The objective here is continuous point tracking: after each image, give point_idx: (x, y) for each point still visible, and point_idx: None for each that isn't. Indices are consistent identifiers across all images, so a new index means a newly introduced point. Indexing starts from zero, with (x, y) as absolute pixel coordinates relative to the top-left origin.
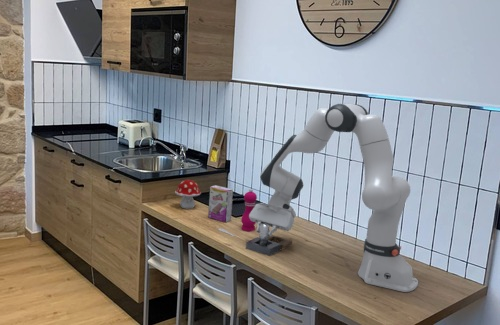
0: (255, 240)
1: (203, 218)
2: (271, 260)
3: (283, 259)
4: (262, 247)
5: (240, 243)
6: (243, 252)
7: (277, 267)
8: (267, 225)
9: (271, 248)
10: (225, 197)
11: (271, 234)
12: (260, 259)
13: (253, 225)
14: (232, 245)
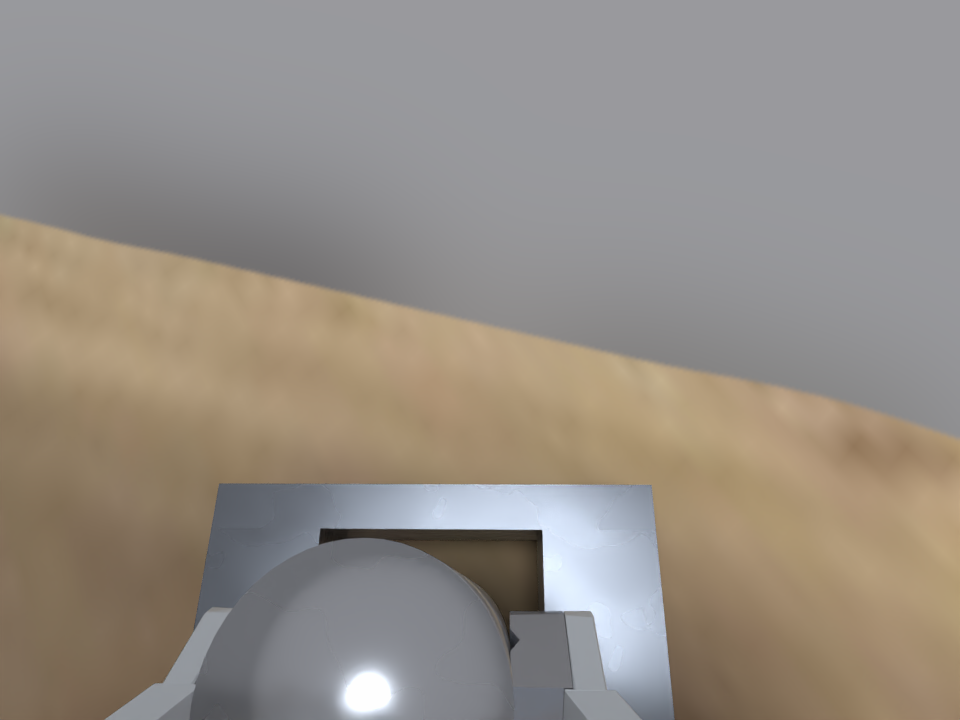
0: None
1: None
2: (185, 396)
3: (67, 525)
4: (354, 486)
5: (820, 618)
6: (563, 371)
7: (64, 286)
8: (236, 685)
9: (213, 524)
10: None
11: None
12: (300, 336)
13: None
14: (823, 466)
